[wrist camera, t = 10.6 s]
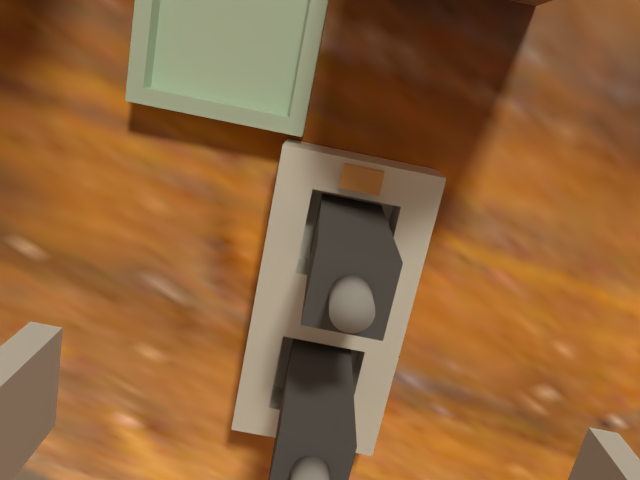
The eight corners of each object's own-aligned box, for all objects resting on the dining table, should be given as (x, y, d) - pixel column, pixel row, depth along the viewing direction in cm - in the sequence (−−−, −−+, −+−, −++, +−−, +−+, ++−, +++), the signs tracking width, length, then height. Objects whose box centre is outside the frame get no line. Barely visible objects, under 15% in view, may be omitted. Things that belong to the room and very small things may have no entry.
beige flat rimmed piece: (239, 401, 42) (229, 436, 38) (287, 138, 36) (281, 146, 32) (369, 425, 42) (372, 463, 38) (436, 169, 37) (449, 180, 32)
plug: (310, 249, 38) (297, 344, 24) (322, 193, 37) (315, 259, 23) (367, 261, 38) (386, 361, 24) (381, 205, 37) (408, 278, 23)
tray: (136, 99, 36) (125, 100, 34) (155, -90, 33) (144, -100, 31) (303, 134, 36) (301, 137, 34) (338, -50, 33) (338, -58, 31)
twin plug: (285, 377, 41) (261, 526, 27) (295, 328, 39) (275, 458, 26) (338, 387, 41) (341, 540, 27) (350, 339, 40) (358, 473, 26)
